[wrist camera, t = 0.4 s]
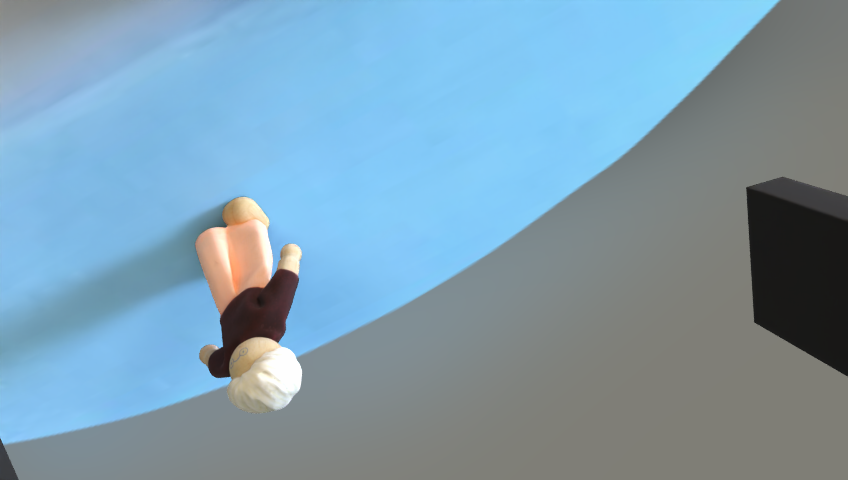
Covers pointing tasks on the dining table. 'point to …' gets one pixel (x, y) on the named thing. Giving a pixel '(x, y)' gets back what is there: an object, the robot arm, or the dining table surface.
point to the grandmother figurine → (250, 308)
